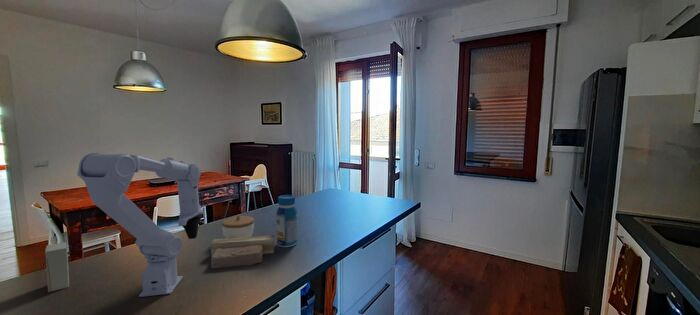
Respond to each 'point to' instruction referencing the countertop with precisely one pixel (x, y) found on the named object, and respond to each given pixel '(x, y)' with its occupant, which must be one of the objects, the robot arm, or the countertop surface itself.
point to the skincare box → (57, 266)
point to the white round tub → (238, 227)
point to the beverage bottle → (286, 221)
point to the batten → (244, 243)
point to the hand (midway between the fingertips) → (192, 237)
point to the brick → (237, 256)
